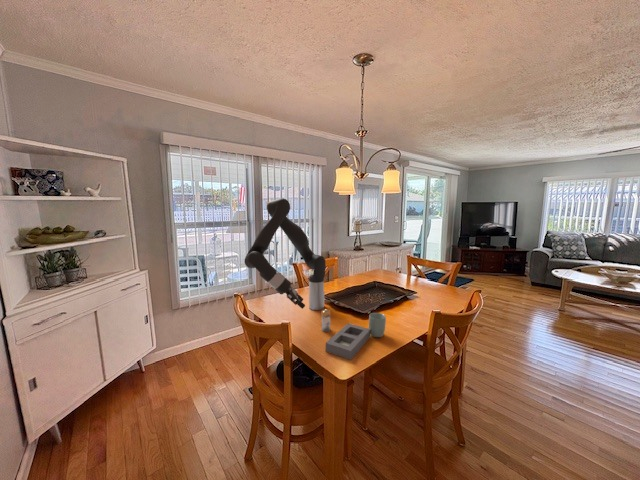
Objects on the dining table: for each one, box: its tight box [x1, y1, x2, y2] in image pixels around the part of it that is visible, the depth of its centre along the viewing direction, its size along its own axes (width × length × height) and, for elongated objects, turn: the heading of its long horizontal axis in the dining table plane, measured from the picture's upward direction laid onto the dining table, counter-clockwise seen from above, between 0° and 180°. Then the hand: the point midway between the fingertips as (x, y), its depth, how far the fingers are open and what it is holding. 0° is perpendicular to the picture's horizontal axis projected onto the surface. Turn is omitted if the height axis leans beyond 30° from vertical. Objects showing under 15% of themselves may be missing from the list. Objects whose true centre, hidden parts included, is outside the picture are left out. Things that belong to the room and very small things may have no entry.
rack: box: [325, 323, 371, 361], centre depth 118 cm, size 12×22×4 cm, turn 148°
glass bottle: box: [321, 308, 331, 333], centre depth 131 cm, size 4×4×11 cm
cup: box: [368, 312, 387, 338], centre depth 125 cm, size 8×8×10 cm
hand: (303, 303), depth 128 cm, fingers open, 8 cm apart
